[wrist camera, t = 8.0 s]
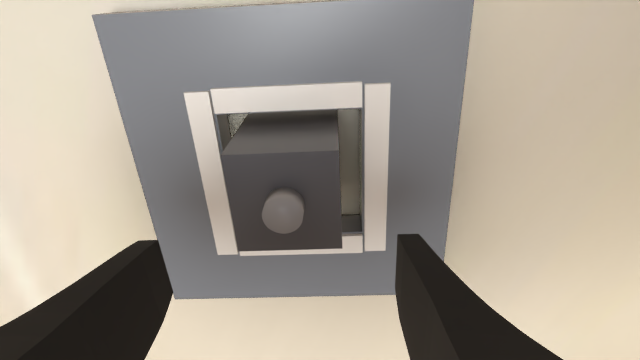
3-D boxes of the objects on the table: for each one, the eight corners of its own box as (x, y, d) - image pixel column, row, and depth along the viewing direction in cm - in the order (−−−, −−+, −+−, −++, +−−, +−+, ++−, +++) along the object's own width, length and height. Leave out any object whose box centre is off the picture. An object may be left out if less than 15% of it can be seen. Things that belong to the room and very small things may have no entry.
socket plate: (461, -7, 15) (476, -7, 13) (432, 274, 21) (440, 296, 20) (112, 12, 16) (88, 15, 14) (184, 280, 22) (173, 301, 20)
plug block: (336, 108, 17) (339, 159, 12) (339, 187, 19) (343, 261, 14) (248, 112, 17) (213, 164, 12) (259, 190, 19) (233, 264, 14)
